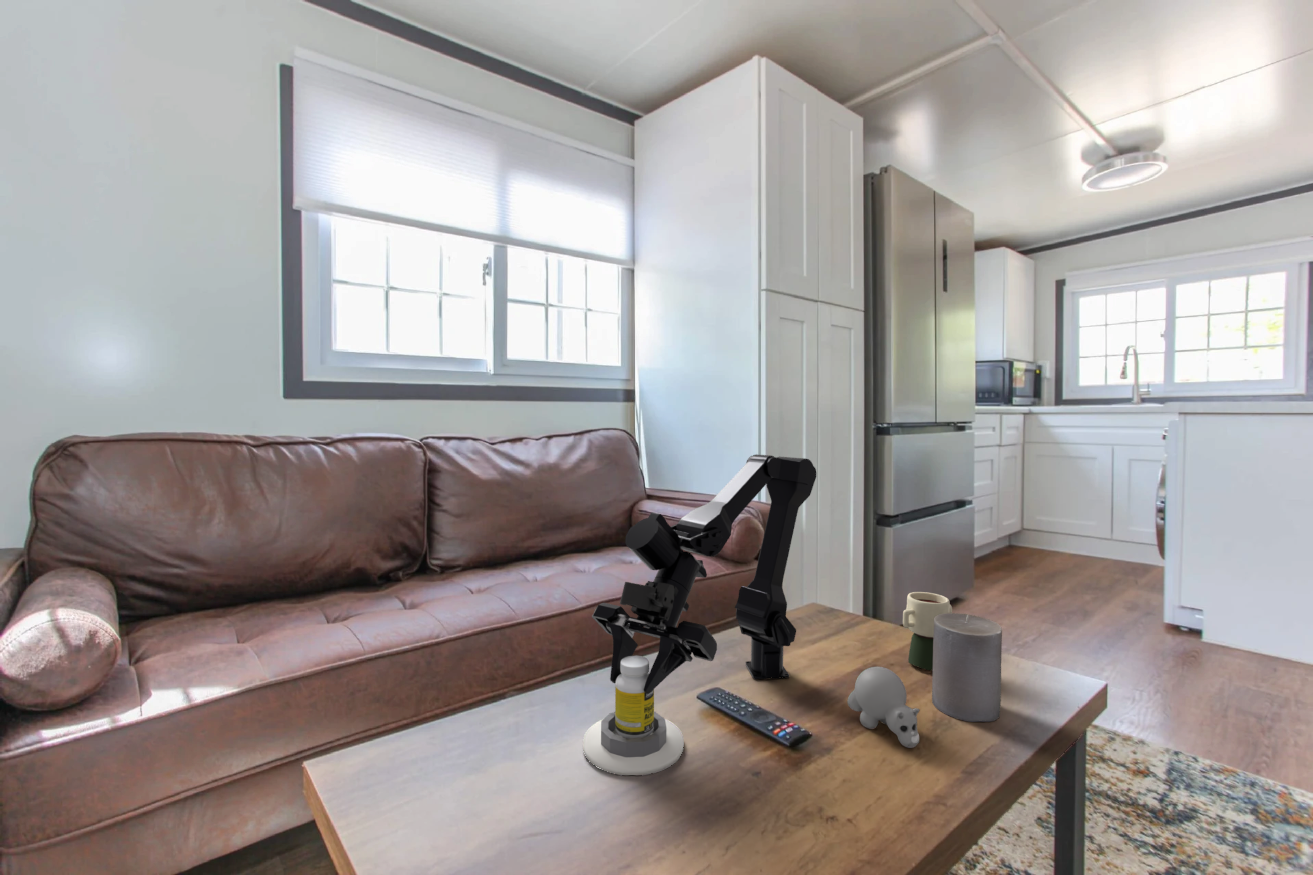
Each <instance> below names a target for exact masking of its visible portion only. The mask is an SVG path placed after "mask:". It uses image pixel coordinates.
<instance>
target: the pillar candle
mask: <svg viewBox="0 0 1313 875" xmlns="http://www.w3.org/2000/svg"><path fill="white" fill-rule="evenodd" d="M1002 641H1003V629H1002V626H1001V625H1000V624H999V623H998V622H996V621H993V620H991V619H990V618H986V617H983V616H979V615H975V614H974V615H973V614H968V613H960V612H952V613H945V614H939V615H937V616H936V617H935V618H934V635H933V671H932V678H931V679H932V681H931V682H932V687H931V688H932V690H931V701H932V702H931V703H932V705H933V706H934V707H935V709H937V710H938V711H939V712H941V713H943V715H944V714H945V715H947V716H949V717H951V718H954V719H957V720H961V721H963V722H971V723H976V722H984V723H985V722H988V723H989V722H990V723H991V722H995V721H996V720H997V719H999V718H1000V715H1001V704H1002V703H1001V702H1002V699H1001V698H1002V652H1003V651H1002V650H1003V649H1002V646H1003V645H1002V644H1003V643H1002Z"/></svg>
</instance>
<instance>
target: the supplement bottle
mask: <svg viewBox="0 0 1313 875" xmlns="http://www.w3.org/2000/svg"><path fill="white" fill-rule="evenodd" d="M620 670H621V674H620V675H619V676H618V677H617V679H616V683H614V684H615V687H614V688H615V691H614V692H615V694H614V695H615V699H614V700H615V701H614V702H615V703H614V704H615V705H614V706H615V707H614V708H615V710H614V712H615V727H616V731H617V733H618V734H619V735H620V736H622V737H624V738H643V737H645V736H648V735H650V734H651V733H652V731H653V729H654V712H655V689H653V690H652V691H651V692H650V693H649V694H646V693H645V692H644V687H645V684H646V680H647V678H648V675H649V673H650V659H648V658H647V657H645V656H642V655H632V656H628V657H625V658H623V659H622V660H621V665H620Z"/></svg>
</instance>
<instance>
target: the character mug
mask: <svg viewBox="0 0 1313 875" xmlns="http://www.w3.org/2000/svg"><path fill="white" fill-rule="evenodd" d="M945 613H953V607H952V605H951V604H950V600H949V598H948V597H946V596H944V595H941V594H939V593H933V592H926V591H925V592H924V591H913V592H909V593H908V594H907V597H906V608H905V609H904V610H903V612H902V626H903V628H908V630H909V631H911V633H912V635H911V638H910V644H909V650H908V660H907V661H908V664H911V665H912V666H915V667H918V668H919V669H923V670H927V671H932V672H933V635H934V618H935V617H936V616H937V615H939V614H945Z"/></svg>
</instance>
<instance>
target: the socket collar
mask: <svg viewBox="0 0 1313 875" xmlns="http://www.w3.org/2000/svg"><path fill="white" fill-rule="evenodd" d="M582 739H583V740H582V751H584V752H583V754H584V753H585V755H586V757H585V759H586V758H587V759H588V760H589V761H590V762H591V763H592V764H594V765H595V766H597V767H599V768H601V769H603V770H604V771H603V772H605V771H608V772H611V773H615V774H620V775H619V776H622V775H642V776H648V775H652V774H651V773H653V774H656V773H659V772H662V771H664V770H666V769H669V768H670V767H672V766H673V765H674V764H676V763H677V762H678V761H679V760H680V758H681V757H680V756H682V755H683V753H684V748H685V747H684V746H685V745H684V735H683V733H682V730H681V728H679V727H678V726H677V725H676V724H675V723H673V722H672V721H670V720H669V719H667V718H664V717H663V716H662V715H661V714H659V713H657V711H654V729H653V731H652V733H651V734H650V735H648V736H645V737H643V738H624V737H622V736H620V735H619V734H618V733H617V731H616V727H615V711H613V712H610V713H608V714H607V715H606V716H605V717H604V718H603V719H600V720H598V721H597V722H595V723H594V724H592V725H591V726H589V728H588V729H587V730H586V731H585V733H584V735H583V738H582ZM683 747H684V748H683ZM682 752H683V753H682ZM681 754H682V755H681ZM585 755H584V756H585ZM587 759H586V760H587ZM588 760H587V761H588ZM589 761H588V762H589ZM590 762H589V763H590ZM591 763H590V764H591ZM592 764H591V765H592ZM671 765H672V766H671ZM595 766H594V767H595ZM608 772H607V773H608ZM611 773H610V774H611ZM615 774H614V775H615Z"/></svg>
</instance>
